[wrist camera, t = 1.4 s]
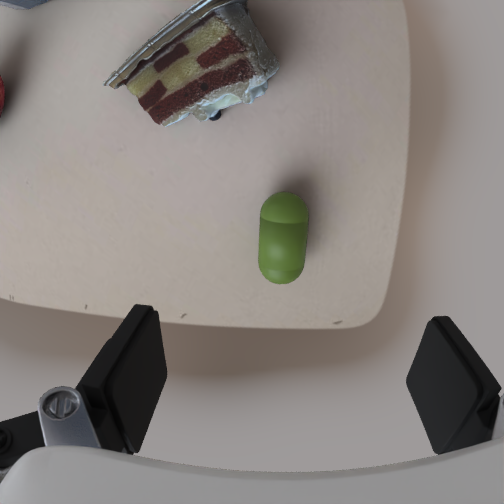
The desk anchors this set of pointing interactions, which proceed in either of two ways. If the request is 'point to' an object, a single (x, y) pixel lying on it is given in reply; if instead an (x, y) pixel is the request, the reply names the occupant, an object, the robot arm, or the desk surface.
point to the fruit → (1, 95)
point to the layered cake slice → (199, 64)
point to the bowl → (21, 3)
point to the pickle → (283, 237)
